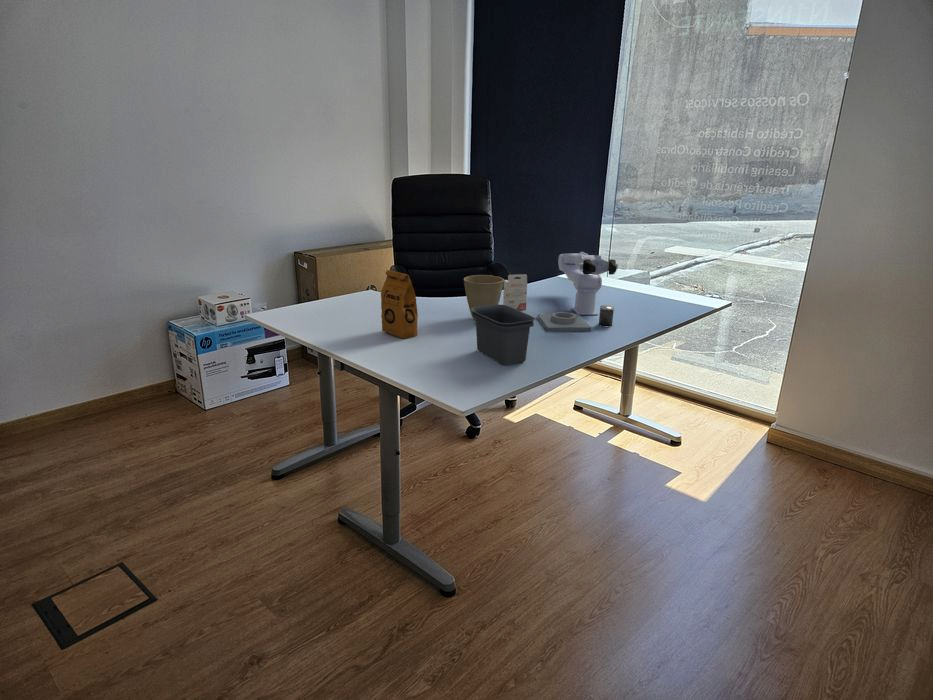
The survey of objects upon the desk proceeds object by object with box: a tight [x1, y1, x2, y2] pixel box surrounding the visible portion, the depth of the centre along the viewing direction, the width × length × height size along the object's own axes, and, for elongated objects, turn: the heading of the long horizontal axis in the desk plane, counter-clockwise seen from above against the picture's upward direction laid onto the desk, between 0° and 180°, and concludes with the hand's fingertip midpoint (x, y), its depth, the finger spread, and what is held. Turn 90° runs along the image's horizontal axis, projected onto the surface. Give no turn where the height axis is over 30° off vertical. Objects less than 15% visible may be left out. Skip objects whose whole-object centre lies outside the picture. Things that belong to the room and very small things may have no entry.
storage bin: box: [471, 304, 536, 366], centre depth 189 cm, size 21×16×14 cm
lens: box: [598, 304, 615, 327], centre depth 226 cm, size 5×5×7 cm
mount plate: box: [537, 311, 592, 332], centre depth 226 cm, size 18×16×4 cm
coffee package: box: [380, 269, 419, 340], centre depth 207 cm, size 10×12×22 cm
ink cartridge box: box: [502, 273, 528, 311], centre depth 243 cm, size 9×5×15 cm, turn 105°
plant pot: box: [463, 274, 505, 322], centre depth 226 cm, size 15×15×16 cm
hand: (605, 269), depth 217 cm, fingers open, 7 cm apart
